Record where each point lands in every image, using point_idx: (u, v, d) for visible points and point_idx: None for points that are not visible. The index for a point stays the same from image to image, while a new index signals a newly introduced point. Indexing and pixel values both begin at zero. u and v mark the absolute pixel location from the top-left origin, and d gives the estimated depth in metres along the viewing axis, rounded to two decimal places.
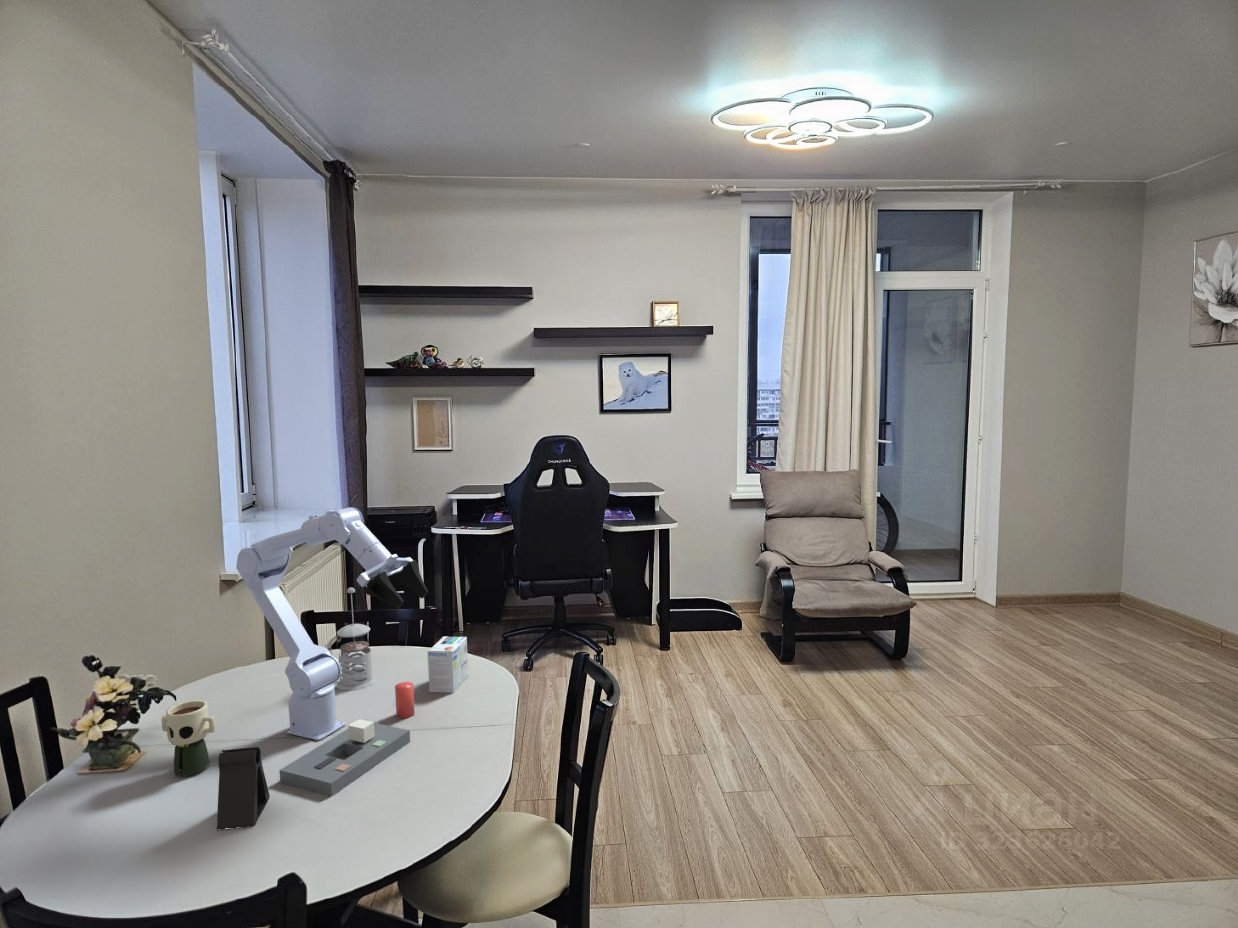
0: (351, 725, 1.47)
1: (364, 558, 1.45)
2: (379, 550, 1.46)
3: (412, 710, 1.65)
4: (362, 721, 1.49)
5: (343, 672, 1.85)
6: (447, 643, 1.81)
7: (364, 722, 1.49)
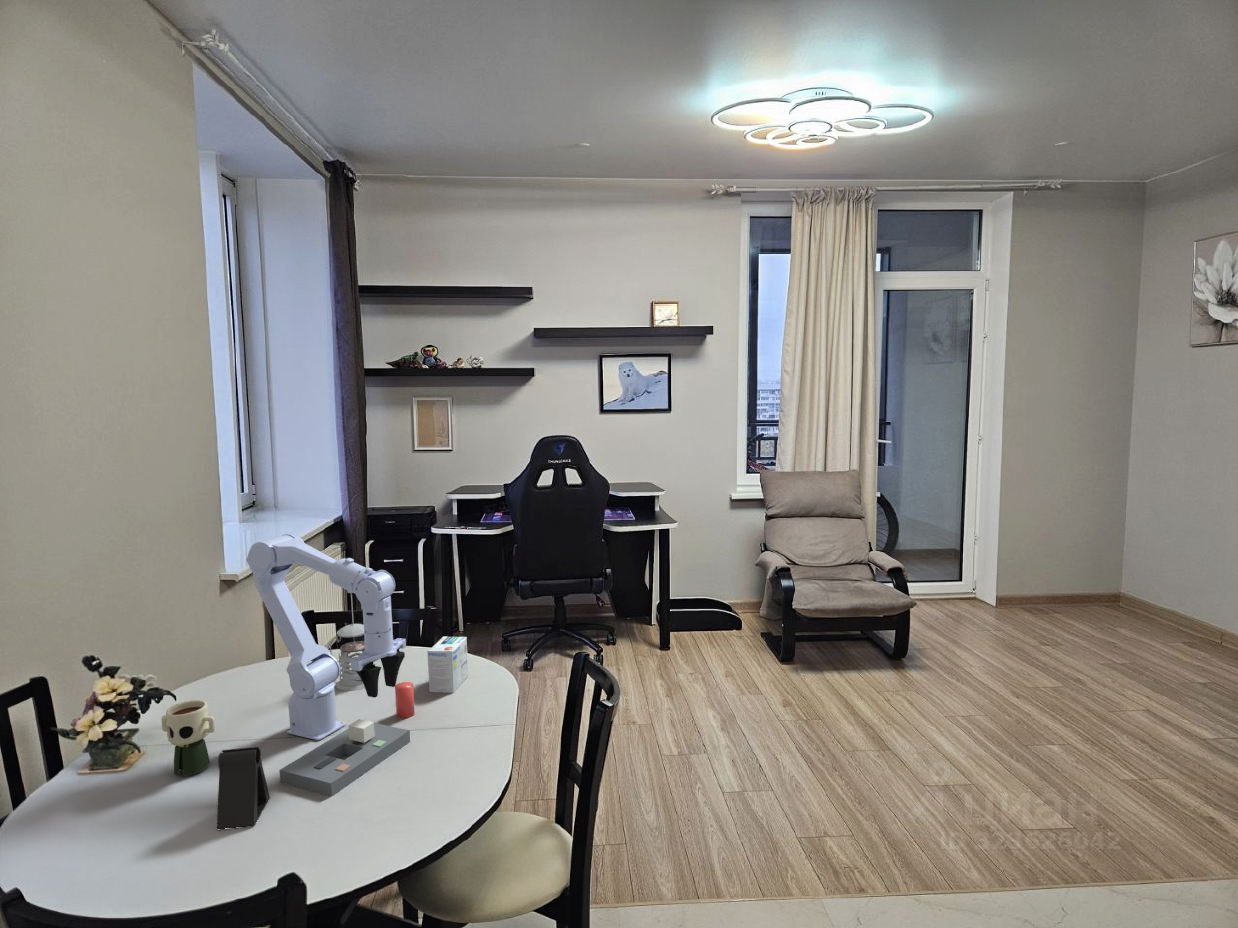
0: (351, 725, 1.47)
1: (370, 638, 1.50)
2: (386, 639, 1.51)
3: (412, 710, 1.65)
4: (362, 721, 1.49)
5: (343, 672, 1.85)
6: (447, 643, 1.81)
7: (364, 722, 1.49)
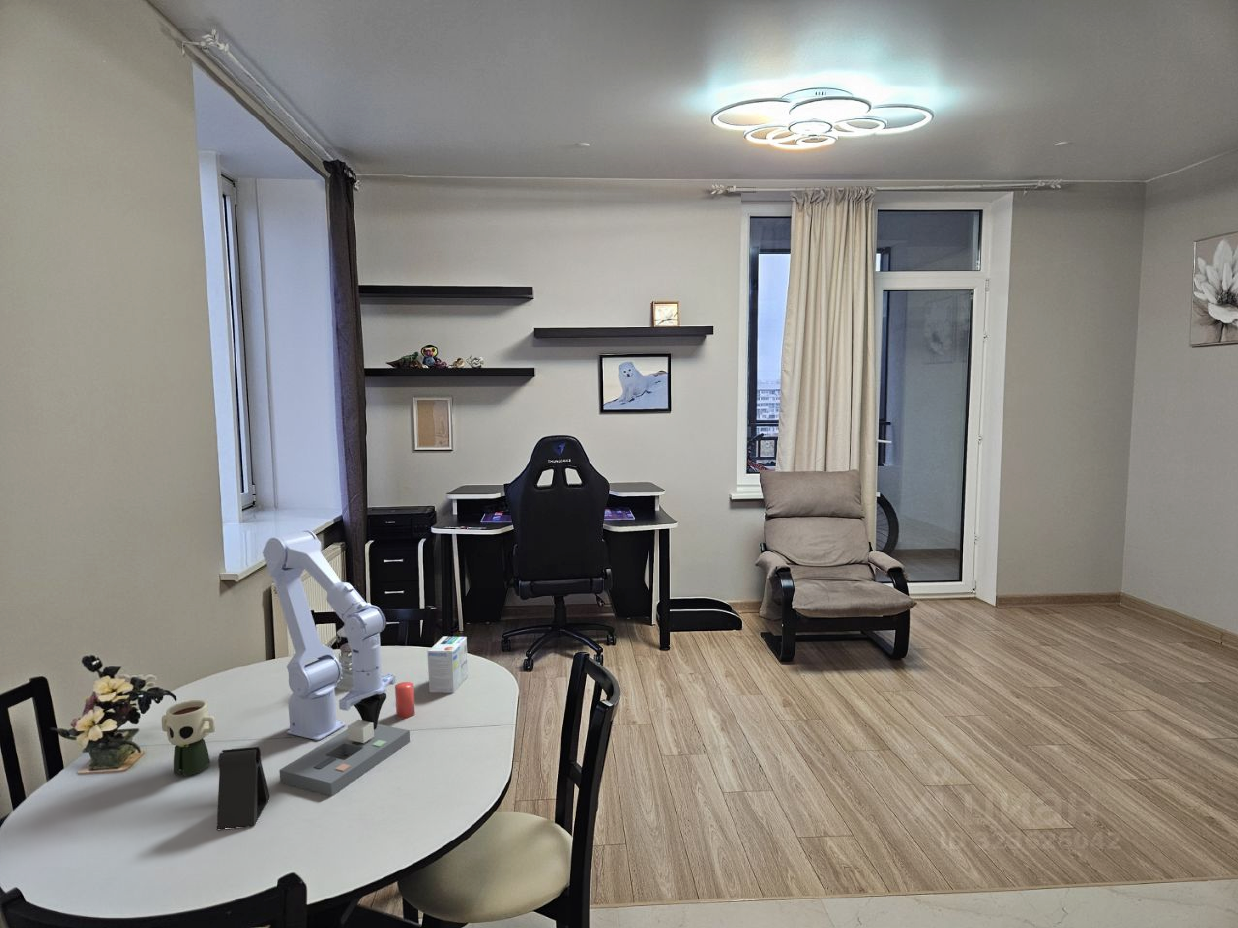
0: (350, 725, 1.47)
1: (358, 676, 1.47)
2: (375, 677, 1.48)
3: (412, 710, 1.65)
4: (361, 722, 1.49)
5: (343, 672, 1.85)
6: (447, 643, 1.81)
7: (363, 723, 1.48)
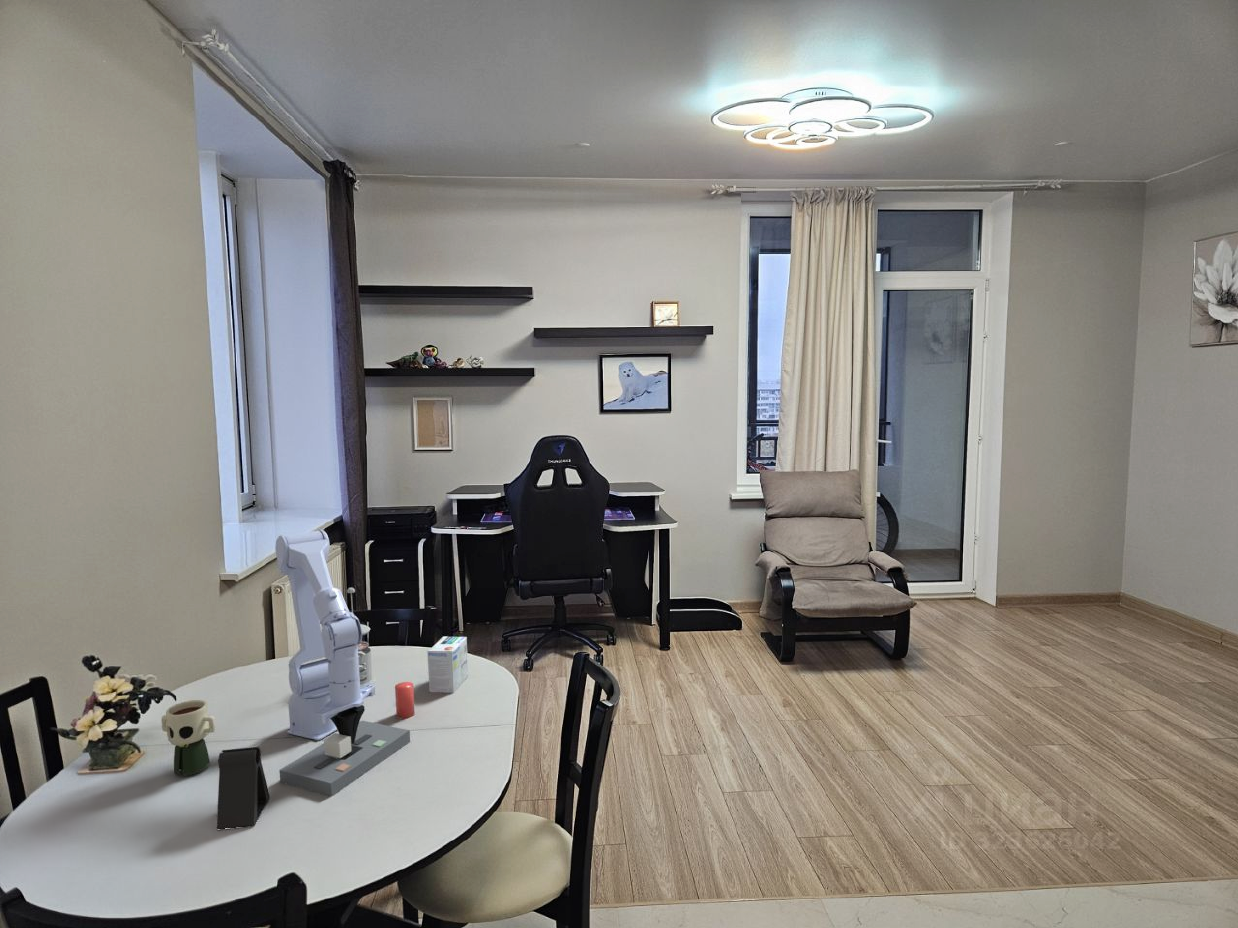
0: (327, 740, 1.41)
1: (335, 688, 1.41)
2: (352, 689, 1.42)
3: (412, 710, 1.65)
4: (338, 736, 1.43)
5: None
6: (447, 643, 1.81)
7: (340, 737, 1.43)
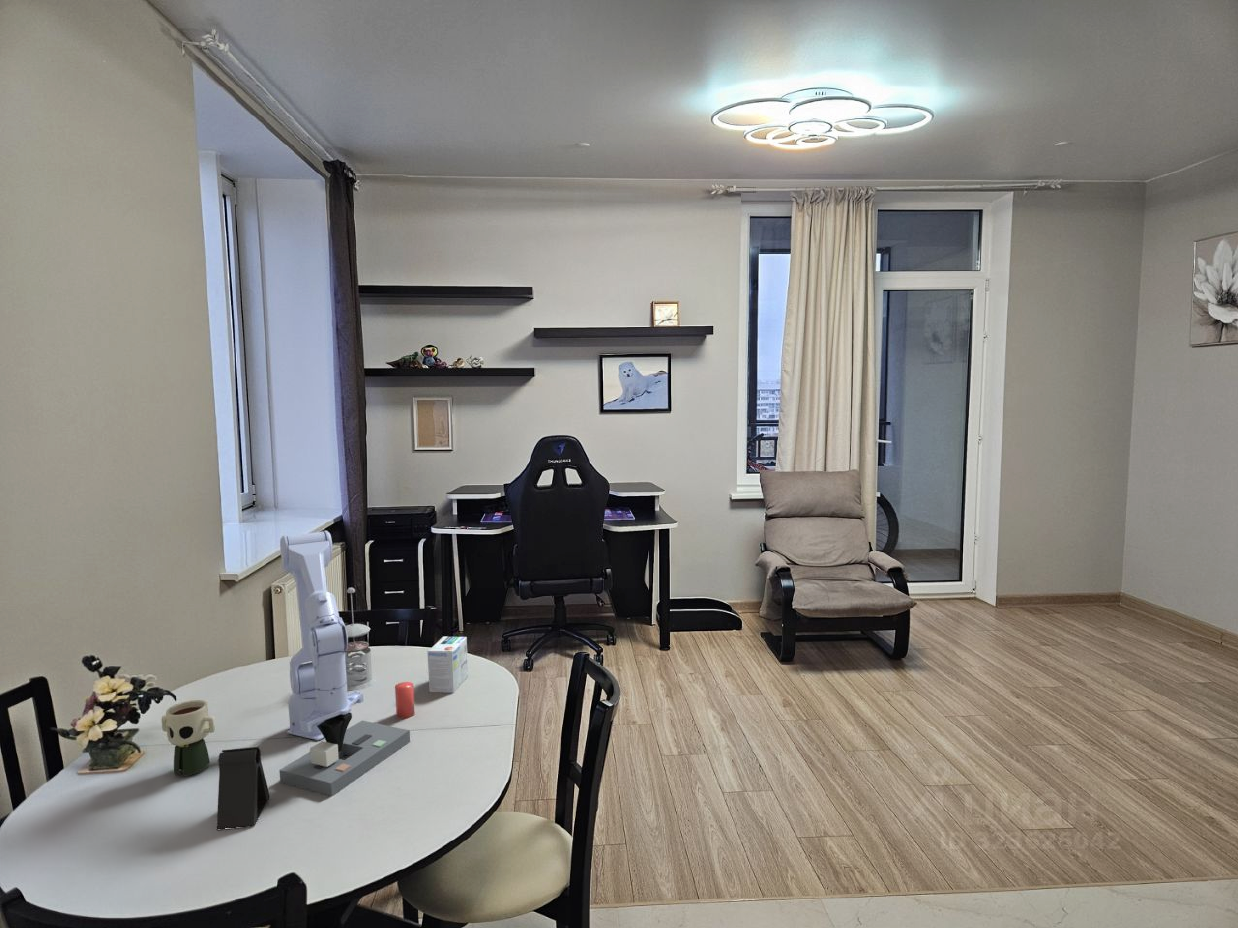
0: (313, 748, 1.38)
1: (321, 695, 1.38)
2: (339, 696, 1.39)
3: (412, 710, 1.65)
4: (325, 744, 1.40)
5: None
6: (447, 643, 1.81)
7: (327, 745, 1.39)
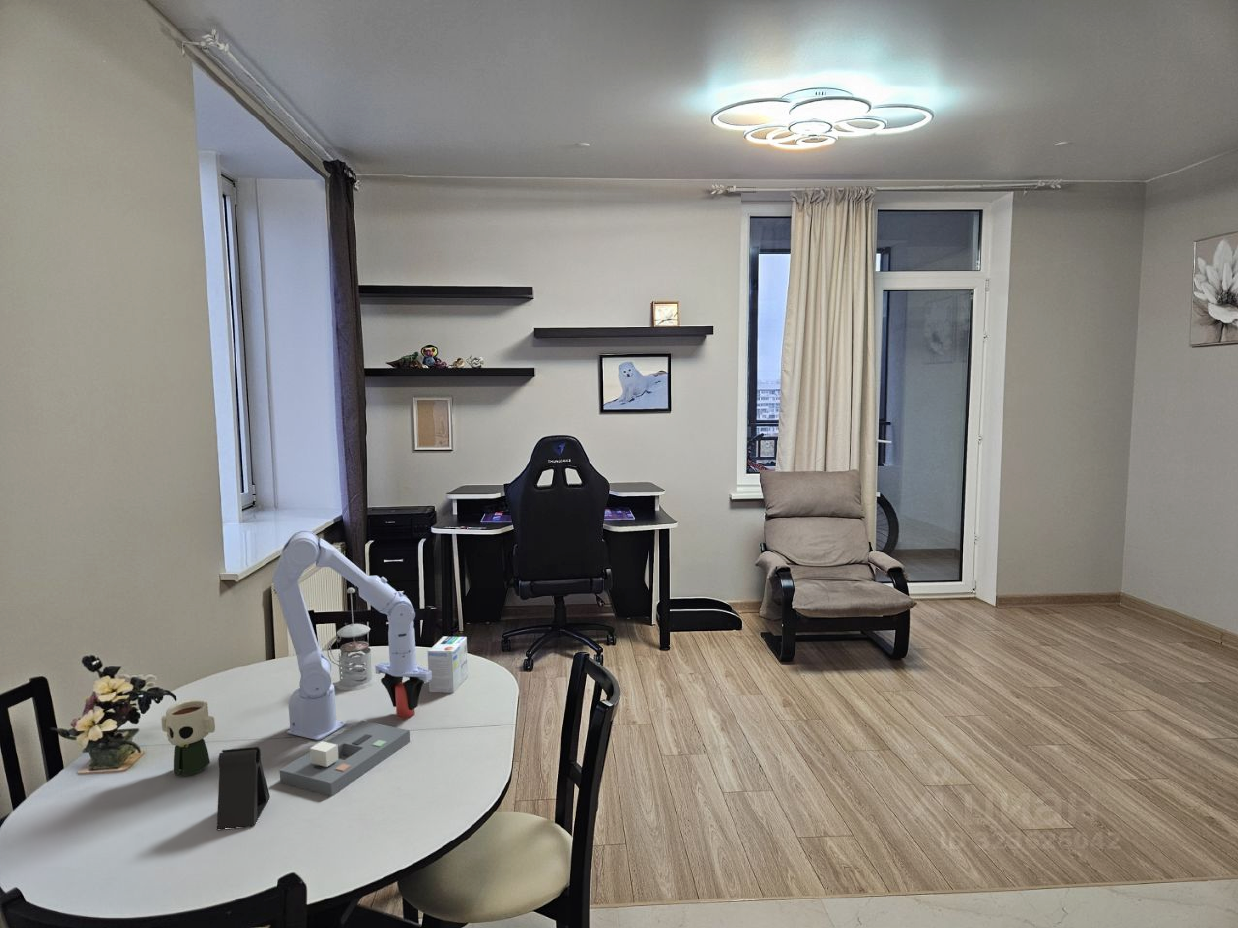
0: (313, 748, 1.38)
1: (413, 654, 1.63)
2: None
3: (412, 710, 1.65)
4: (325, 744, 1.40)
5: (343, 672, 1.85)
6: (447, 643, 1.81)
7: (327, 745, 1.39)
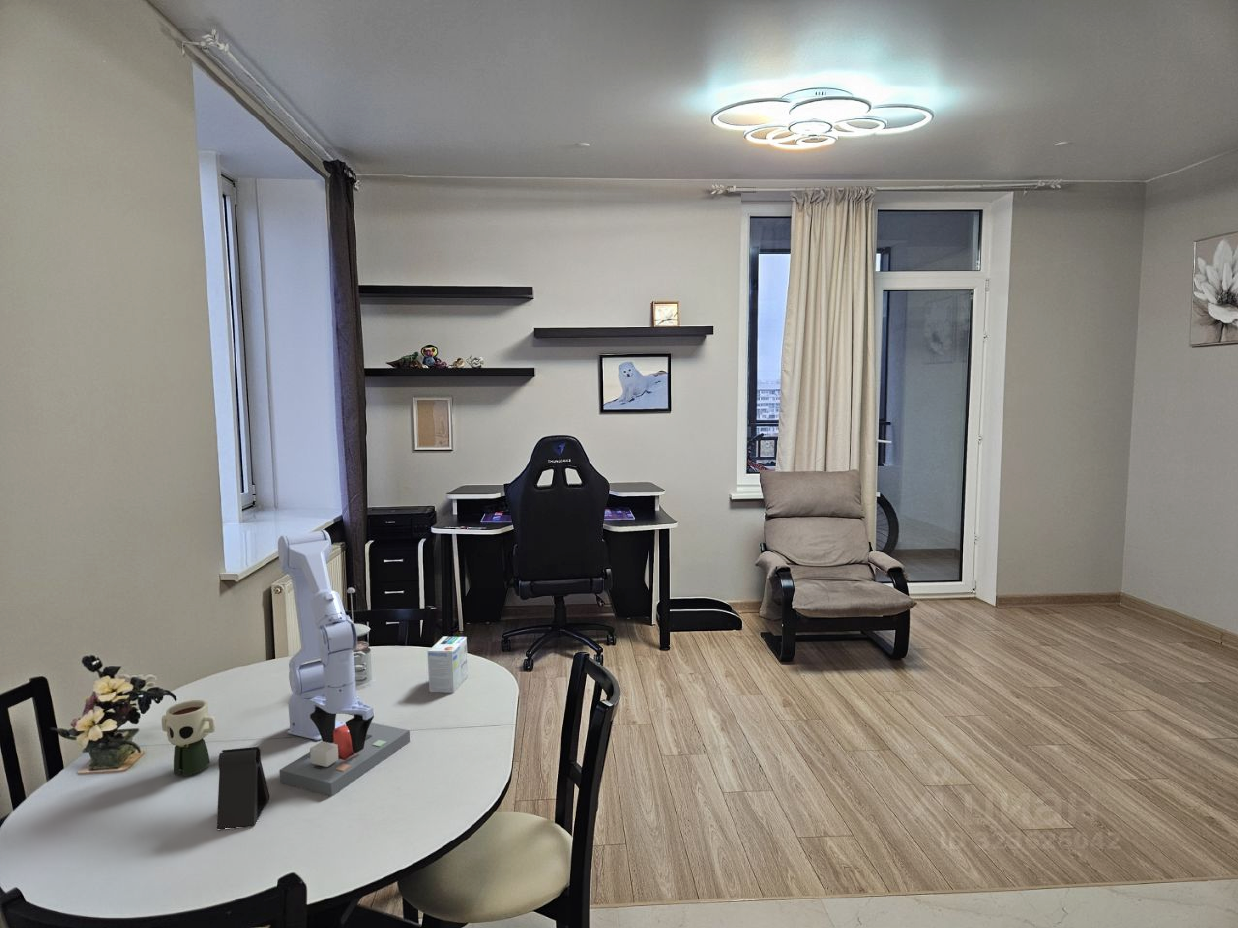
0: (313, 748, 1.38)
1: (352, 688, 1.42)
2: None
3: None
4: (325, 744, 1.40)
5: None
6: (447, 643, 1.81)
7: (327, 745, 1.39)
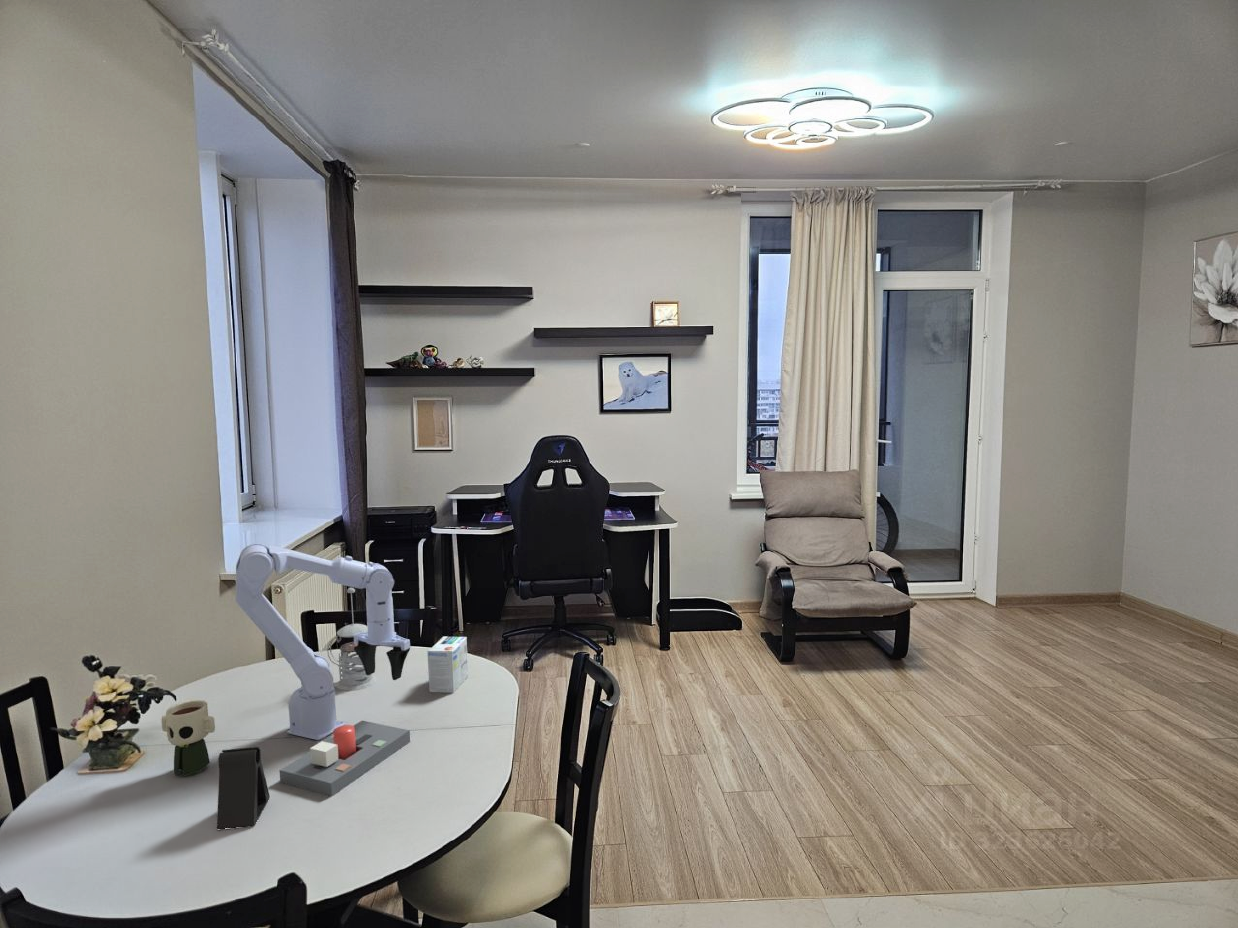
0: (313, 748, 1.38)
1: (391, 623, 1.62)
2: None
3: None
4: (325, 744, 1.40)
5: (343, 672, 1.85)
6: (447, 643, 1.81)
7: (327, 745, 1.39)
